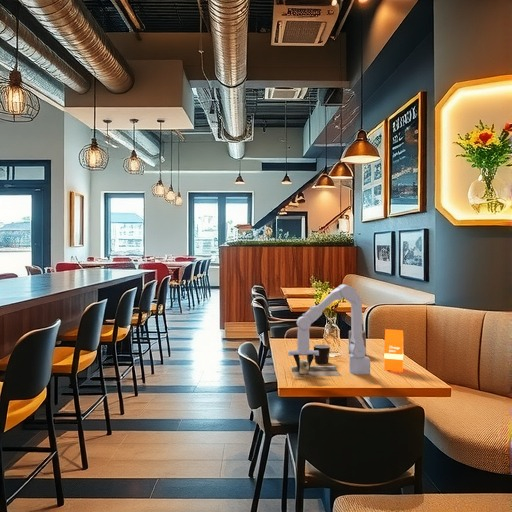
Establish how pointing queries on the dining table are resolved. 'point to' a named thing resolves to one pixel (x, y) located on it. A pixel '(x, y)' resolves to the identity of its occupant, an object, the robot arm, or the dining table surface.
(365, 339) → the grey tall block
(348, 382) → the dining table surface
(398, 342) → the orange juice
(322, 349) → the coffee mug
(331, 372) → the marking board
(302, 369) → the block
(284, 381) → the dining table surface
